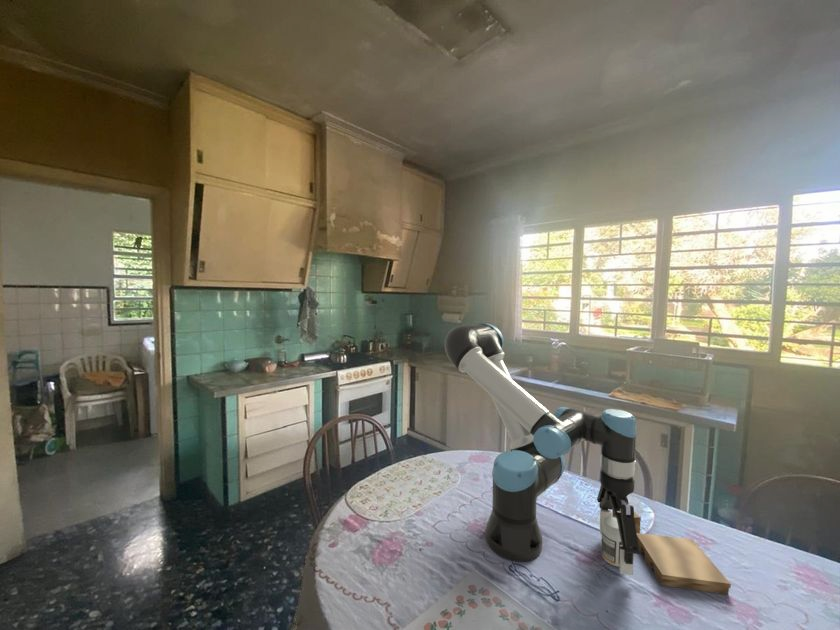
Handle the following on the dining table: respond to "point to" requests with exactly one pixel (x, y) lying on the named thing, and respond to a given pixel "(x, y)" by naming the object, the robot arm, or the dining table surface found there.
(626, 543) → the robot arm
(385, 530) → the dining table surface
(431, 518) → the dining table surface
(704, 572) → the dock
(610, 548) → the pill bottle
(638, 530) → the wooden cube
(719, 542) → the dining table surface
